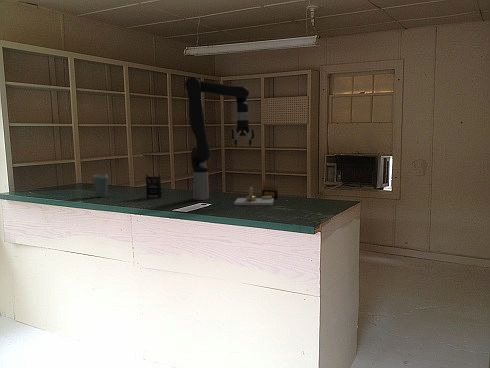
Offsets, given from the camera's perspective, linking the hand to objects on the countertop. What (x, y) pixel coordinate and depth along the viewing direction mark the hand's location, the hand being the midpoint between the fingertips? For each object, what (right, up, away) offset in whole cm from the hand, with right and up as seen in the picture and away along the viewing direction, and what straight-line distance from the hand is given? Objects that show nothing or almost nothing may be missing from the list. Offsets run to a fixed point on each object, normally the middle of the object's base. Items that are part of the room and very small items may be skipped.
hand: (243, 145), depth 276 cm
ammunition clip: (+17, -33, 0) cm, 38 cm away
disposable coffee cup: (-94, -33, +13) cm, 101 cm away
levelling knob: (+5, -34, -16) cm, 38 cm away
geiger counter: (-58, -33, +8) cm, 67 cm away
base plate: (+7, -36, -17) cm, 40 cm away
